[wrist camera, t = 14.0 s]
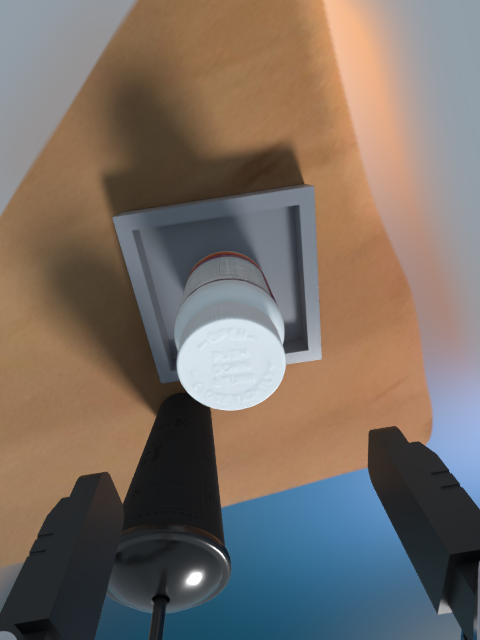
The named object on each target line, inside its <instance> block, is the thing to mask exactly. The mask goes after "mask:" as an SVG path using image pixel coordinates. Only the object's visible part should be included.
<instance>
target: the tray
mask: <svg viewBox="0 0 480 640" xmlns="http://www.w3.org/2000/svg"><path fill="white" fill-rule="evenodd" d="M112 218H113V222H114V225H115V229H116V232H117V235H118V239H119V242H120V246H121V249H122V252H123V256H124V259H125V263H126V266H127V269H128V273H129V276H130V280H131V283H132V286H133V290H134V293H135V297H136V300H137V303H138V307H139V310H140V314H141V317H142V320H143V324H144V327H145V331H146V334H147V338H148V341H149V344H150V348H151V351H152V355H153V358H154V361H155V365H156V368H157V372H158V375H159V378H160V382H161V384H162V383H169V382H175V381H180V379H179V377H178V373H177V354H178V350H177V347H176V344H175V338H174V328H175V322H176V317H177V314H178V311H179V307H180V304H181V300H182V297H183V293H184V290H185V286H186V283H187V279H188V276H189V274H190V272H191V271H192V269H193V267H194V266H195V265H196V264H197V263H198V262H199V261H200V260H201V259H203V258H204V257H206V256H208V255H210V254H212V253H216V252H220V251H234V252H238V253H241V254H243V255H246V256H247V257H249V258H251V259H252V260H253V261H254V262H255V263H256V264H257V265H258V266H259V267H260V269H261V270H262V272H263V274H264V276H265V278H266V280H267V282H268V285H269V287H270V289H271V292H272V294H273V296H274V298H275V300H276V303H277V305H278V307H279V309H280V312H281V315H282V318H283V322H284V341H283V348H284V351H285V357H286V364H293V363H299V362H306V361H312V360H319V359H322V356H321V333H320V311H319V288H318V265H317V242H316V219H315V196H314V186H313V185H308V184H301V185H295V186H288V187H282V188H275V189H269V190H263V191H256V192H250V193H243V194H237V195H231V196H224V197H218V198H211V199H205V200H198V201H192V202H186V203H179V204H173V205H166V206H160V207H154V208H147V209H141V210H134V211H128V212H122V213H120V214H118V215H116V216H114V217H112Z"/></svg>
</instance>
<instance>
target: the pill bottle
mask: <svg viewBox="0 0 480 640" xmlns="http://www.w3.org/2000/svg"><path fill="white" fill-rule="evenodd" d="M174 338H175V344H176V347H177V350H178V354H177V373H178V377H179V379H180V382H181V384H182V385H183V387H184V388H185V390H186V391H187V392H188V393H189V394H190V395H191V396H192V397H193V398H194V399H195V400H197V401H198V402H200V403H202V404H204V405H206V406H209V407H211V408H215V409H220V410H240V409H245V408H249V407H252V406H254V405H256V404H259V403H260V402H262V401H264V400H265V399H267V398H268V397H269V396H270V395H271V394H272V393H273V392H274V391H275V390H276V389H277V387H278V386H279V384H280V382H281V381H282V378H283V375H284V372H285V367H286V357H285V351H284V348H283V341H284V322H283V318H282V315H281V312H280V309H279V307H278V305H277V303H276V300H275V298H274V296H273V294H272V292H271V289H270V287H269V285H268V282H267V280H266V278H265V276H264V274H263V272H262V270H261V269H260V267H259V266H258V265H257V264H256V263H255V262H254V261H253V260H252V259H251V258H249V257H247V256H246V255H243V254H241V253H238V252H234V251H220V252H216V253H212V254H210V255H208V256H206V257H204V258H203V259H201V260H200V261H199V262H198V263H197V264H196V265H195V266H194V267H193V269H192V271H191V272H190V274H189V276H188V279H187V283H186V286H185V290H184V293H183V297H182V300H181V304H180V307H179V311H178V314H177V317H176V322H175V328H174Z"/></svg>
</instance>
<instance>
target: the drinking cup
mask: <svg viewBox="0 0 480 640" xmlns="http://www.w3.org/2000/svg"><path fill="white" fill-rule="evenodd" d="M123 509H124V524H123V529H122V533H121V537H120V541H119V545H118V549H117V552H116V556H115V560H114V564H113V568H112V572H111V576H110V580H109V584H108V588H107V592H106V594H107V595H108V596H109V597H111V598H112V599H114V600H116V601H117V602H119V603H121V604H124V605H126V606H129V607H132V608H135V609H138V610H141V611H144V612H149V613H152V619H151V626H150V633H149V639H148V640H162V639H163V630H164V622H165V614H166V613H171V612H177V611H181V610H184V609H188V608H191V607H195V606H198V605H200V604H203V603H205V602H207V601H209V600H210V599H212V598H214V597H215V596H216V595H218V594H219V593H220V592H221V591H222V590H223V589H224V588H225V586H226V585H227V583H228V581H229V578H230V575H231V559H230V555H229V552H228V550H227V549H226V547H225V542H224V532H223V523H222V514H221V504H220V495H219V485H218V476H217V466H216V457H215V447H214V438H213V428H212V419H211V411H210V407H209V406H206V405H204V404H202V403H200V402H198V401H197V400H195V399H194V398H193V397H192V396H191V395H190V394H189V393H180V394H175V395H173V396H170V397H169V398H167V399H166V400H165V401H164V402H163V403H162V405H161V407H160V409H159V411H158V414H157V417H156V419H155V422H154V425H153V427H152V430H151V432H150V435H149V438H148V440H147V443H146V445H145V448H144V451H143V453H142V456H141V458H140V461H139V464H138V466H137V469H136V471H135V474H134V477H133V479H132V482H131V484H130V487H129V490H128V492H127V495H126V497H125V500H124V503H123Z"/></svg>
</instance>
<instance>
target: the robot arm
mask: <svg viewBox="0 0 480 640" xmlns="http://www.w3.org/2000/svg"><path fill="white" fill-rule="evenodd" d="M368 470H369V475H370V479H371V482H372V484H373V487H374V489H375V491H376V493H377V495H378V497H379V499H380V501H381V503H382V505H383V507H384V509H385V510H386V513H387V515H388V517H389V519H390V521H391V523H392V525H393V527H394V529H395V531H396V533H397V535H398V537H399V539H400V540H401V543H402V545H403V547H404V548H405V550H406V553H407V555H408V557H409V558H410V560H411V562H412V564H413V566H414V568H415V570H416V572H417V574H418V576H419V578H420V580H421V582H422V584H423V586H424V588H425V590H426V592H427V594H428V596H429V598H430V600H431V602H432V604H433V606H434V608H435V610H436V612H437V614H438V615H439V614H445V613H450V612H453V614H454V616H455V618H456V619H457V621H458V623H459V625H460V627H461V639H460V640H480V509H479V508H478V507H477V505H476V504H475V503H474V501H473V500H472V499H471V498H470V496H469V495H468V494H467V493H466V491H465V490H464V489H463V488H462V487H460V484H459V482H458V481H457V480H456V478H455V477H454V476H453V475H452V474H450V472H449V469H448V468H447V467H446V466H445V464H444V463H443V462H442V461H441V459H440V458H439V457H438V455H437V454H436V453H434V452H433V451H432V450H430V449H429V448H427V447H426V446H425V445H423V444H422V443H420V442H419V441H418V442H412V443H409V442H408V441H407V439H406V438H405V437H404V435H403V434H402V432H401V431H400V430H399V429H398V428H397V427H396V426H392V427H386V428H380V429H373V430H370V431H369V443H368ZM123 524H124V509H123V505H122V502H121V500H120V497H119V495H118V493H117V490H116V488H115V486H114V483H113V481H112V479H111V476H110V474H109V473H108V472H102V473H96V474H89V475H83V476H80V477H79V478H78V480H77V481H76V484H75V486H74V488H73V490H72V493H71V495H70V497H66V498H62V499H61V500H60V501H59V502H58V503H57V505H56V506H55V507H54V508H53V509H52V511H51V512H50V513H49V514H48V515H47V517H46V519H45V521H44V523H43V525H42V527H41V529H40V531H39V534H38V538H37V540H35V542H34V544H33V546H32V548H31V550H30V552H29V553H30V555H29V557H27V558H26V561H25V563H24V565H23V567H22V569H21V571H20V573H19V575H18V577H17V579H16V581H15V584H14V586H13V588H12V590H11V592H10V594H9V596H8V598H7V600H6V602H5V604H4V606H3V609H2V611H1V613H0V640H94V639H95V635H96V631H97V627H98V623H99V619H100V616H101V612H102V607H103V603H104V600H105V596H106V592H107V588H108V584H109V580H110V576H111V572H112V568H113V564H114V560H115V556H116V552H117V549H118V545H119V541H120V537H121V533H122V529H123Z"/></svg>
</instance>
